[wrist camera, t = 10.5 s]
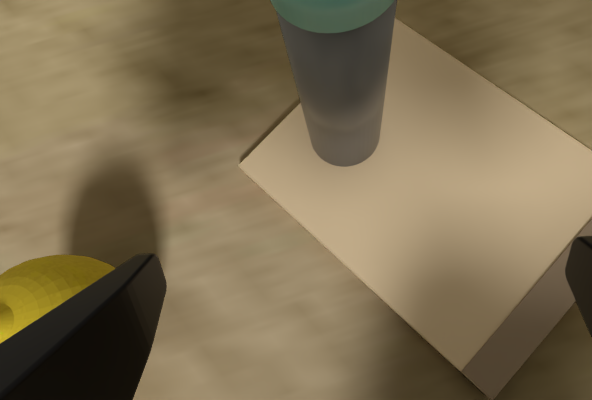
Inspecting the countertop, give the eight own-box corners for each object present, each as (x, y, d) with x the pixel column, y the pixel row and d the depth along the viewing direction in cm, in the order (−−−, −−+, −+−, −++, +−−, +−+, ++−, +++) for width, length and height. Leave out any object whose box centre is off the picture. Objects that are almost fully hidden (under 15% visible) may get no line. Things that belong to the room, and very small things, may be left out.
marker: (397, 130, 22) (451, -120, 9) (347, 183, 21) (333, -3, 9) (342, 88, 23) (325, -187, 10) (293, 137, 22) (214, -85, 10)
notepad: (652, 200, 20) (662, 196, 19) (487, 397, 18) (492, 400, 18) (387, 20, 24) (388, 12, 23) (240, 169, 23) (237, 165, 22)
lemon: (128, 244, 23) (14, 208, 15) (190, 324, 21) (97, 329, 13) (48, 316, 22) (-113, 316, 15) (104, 403, 21) (-43, 454, 13)
